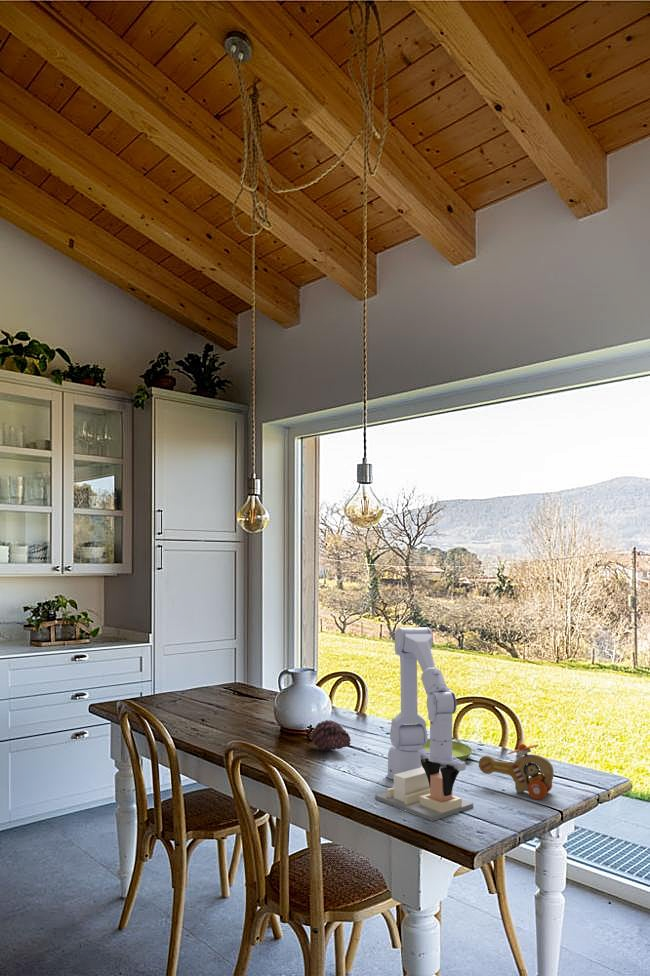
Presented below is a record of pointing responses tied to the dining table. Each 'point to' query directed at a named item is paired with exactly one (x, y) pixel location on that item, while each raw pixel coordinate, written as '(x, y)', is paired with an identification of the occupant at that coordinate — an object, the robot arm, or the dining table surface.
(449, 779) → the robot arm
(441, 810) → the assembly jig
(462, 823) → the dining table surface
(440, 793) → the block
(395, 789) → the block
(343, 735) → the pine cone
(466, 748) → the saucer
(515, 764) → the toy helicopter
